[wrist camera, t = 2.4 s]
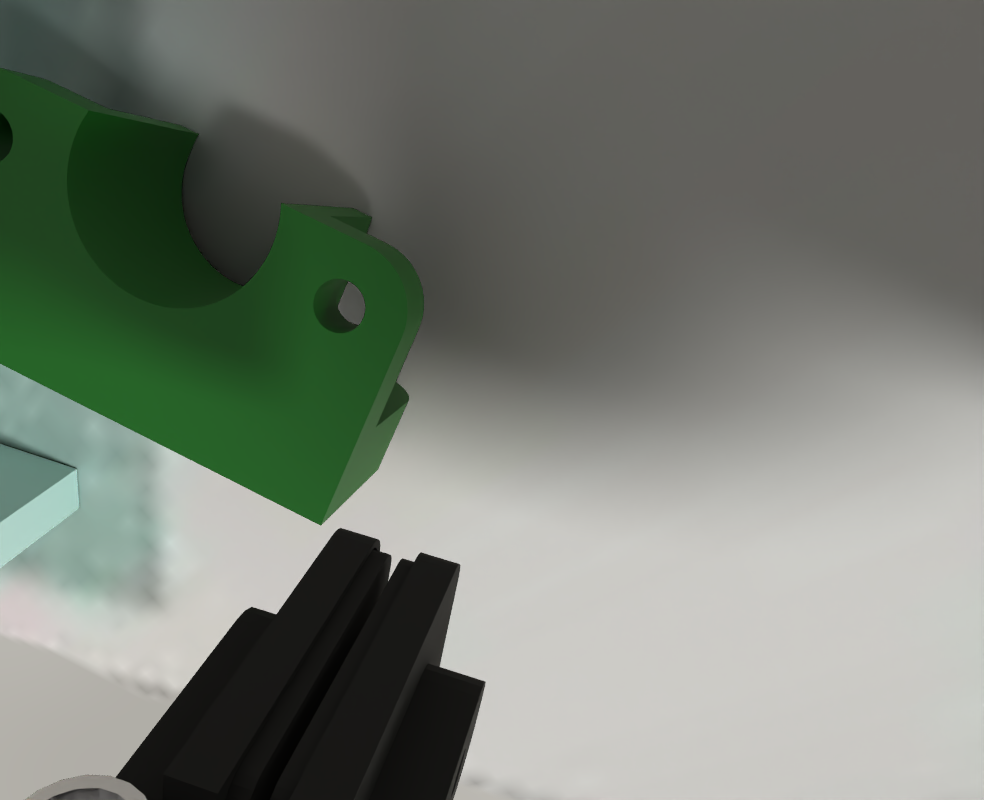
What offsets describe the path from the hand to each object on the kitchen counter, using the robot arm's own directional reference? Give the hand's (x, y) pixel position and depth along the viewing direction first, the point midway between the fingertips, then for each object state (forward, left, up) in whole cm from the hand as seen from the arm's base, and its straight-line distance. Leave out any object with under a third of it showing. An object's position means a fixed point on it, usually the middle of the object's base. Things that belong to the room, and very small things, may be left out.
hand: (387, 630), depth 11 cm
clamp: (+8, 0, -12) cm, 14 cm away
